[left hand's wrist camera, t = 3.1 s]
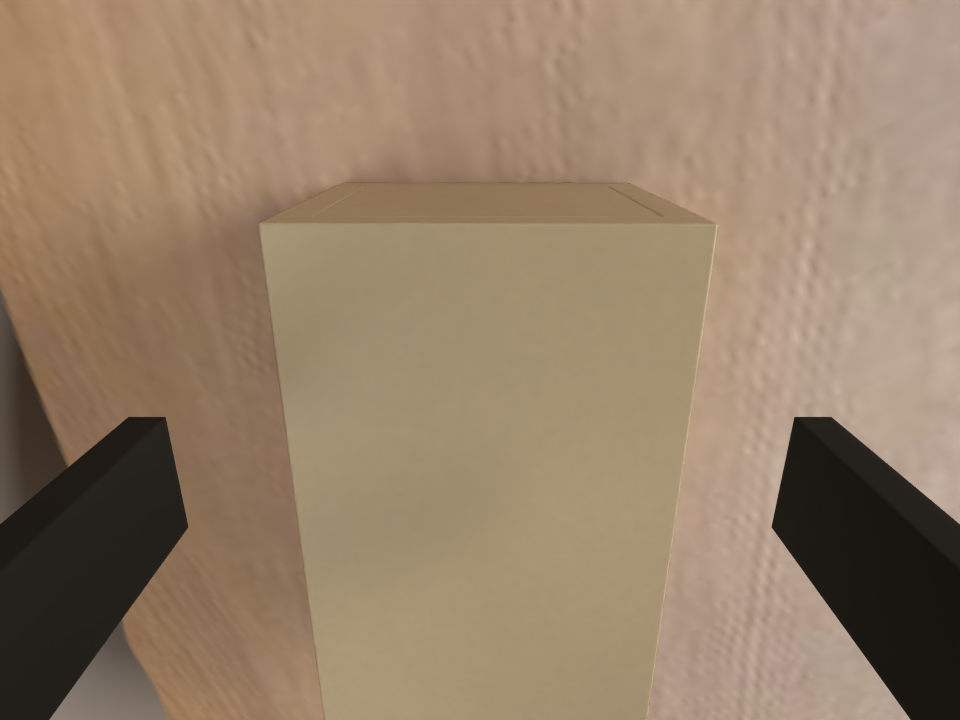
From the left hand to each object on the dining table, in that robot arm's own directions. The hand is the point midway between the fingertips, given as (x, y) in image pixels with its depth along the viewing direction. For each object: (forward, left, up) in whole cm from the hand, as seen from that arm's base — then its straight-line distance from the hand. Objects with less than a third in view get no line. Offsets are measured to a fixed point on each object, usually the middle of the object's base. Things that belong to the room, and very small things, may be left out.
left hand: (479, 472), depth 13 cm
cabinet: (+3, 0, -13) cm, 13 cm away
